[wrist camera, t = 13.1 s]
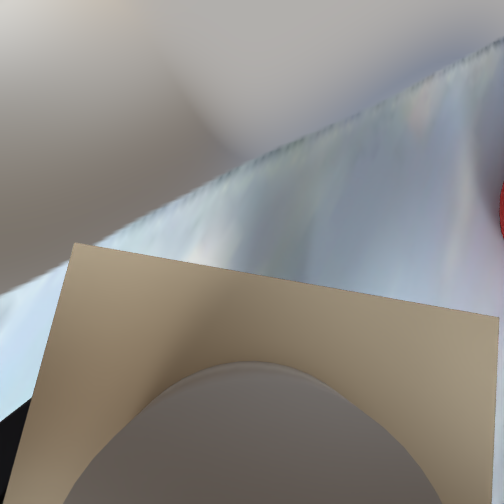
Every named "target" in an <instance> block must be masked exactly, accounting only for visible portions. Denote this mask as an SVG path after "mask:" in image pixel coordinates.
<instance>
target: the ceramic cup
mask: <svg viewBox="0 0 504 504" xmlns="http://www.w3.org/2000/svg"><path fill="white" fill-rule="evenodd" d="M500 225H501V232H502V235H503V238H504V183H503V187H502V190H501V195H500Z"/></svg>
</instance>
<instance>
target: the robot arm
mask: <svg viewBox="0 0 504 504" xmlns="http://www.w3.org/2000/svg"><path fill="white" fill-rule="evenodd" d="M31 399H32V398H30V399H29V400H28V401H27V402H25V403H24V404H23V405H21V406H20V407H19V408H18V409H16V410H15V411H14V412H13V413H11V414H10V415H9V416H7V417H6V418H5V419H4V420H2V421H1V422H0V504H3V502H4V498H5V494H6V491H7V487H8V483H9V480H10V476H11V472H12V469H13V465H14V461H15V458H16V454H17V450H18V447H19V443H20V439H21V436H22V432H23V428H24V425H25V421H26V417H27V414H28V410H29V406H30V403H31Z"/></svg>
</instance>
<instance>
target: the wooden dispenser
mask: <svg viewBox="0 0 504 504" xmlns="http://www.w3.org/2000/svg"><path fill="white" fill-rule="evenodd" d="M498 335H499V317H494V316H488V315H482V314H477V313H471V312H466V311H460V310H454V309H449V308H443V307H437V306H432V305H426V304H420V303H415V302H409V301H403V300H398V299H392V298H386V297H381V296H375V295H369V294H364V293H358V292H352V291H347V290H341V289H335V288H330V287H324V286H318V285H313V284H307V283H301V282H296V281H290V280H284V279H279V278H273V277H267V276H262V275H256V274H250V273H245V272H239V271H233V270H228V269H222V268H216V267H211V266H205V265H199V264H194V263H188V262H182V261H177V260H171V259H165V258H160V257H154V256H148V255H143V254H137V253H131V252H126V251H120V250H114V249H109V248H103V247H97V246H92V245H86V244H80V243H74V246H73V249H72V253H71V257H70V260H69V264H68V268H67V271H66V275H65V279H64V282H63V286H62V289H61V293H60V297H59V300H58V304H57V308H56V311H55V315H54V319H53V322H52V326H51V330H50V333H49V337H48V341H47V344H46V348H45V352H44V355H43V359H42V363H41V366H40V370H39V374H38V377H37V381H36V385H35V388H34V392H33V396H32V399H31V403H30V406H29V410H28V414H27V417H26V421H25V425H24V428H23V432H22V436H21V439H20V443H19V447H18V450H17V454H16V458H15V461H14V465H13V469H12V472H11V476H10V480H9V483H8V487H7V491H6V494H5V498H4V502H3V504H491V502H492V479H493V455H494V431H495V407H496V383H497V359H498Z"/></svg>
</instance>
